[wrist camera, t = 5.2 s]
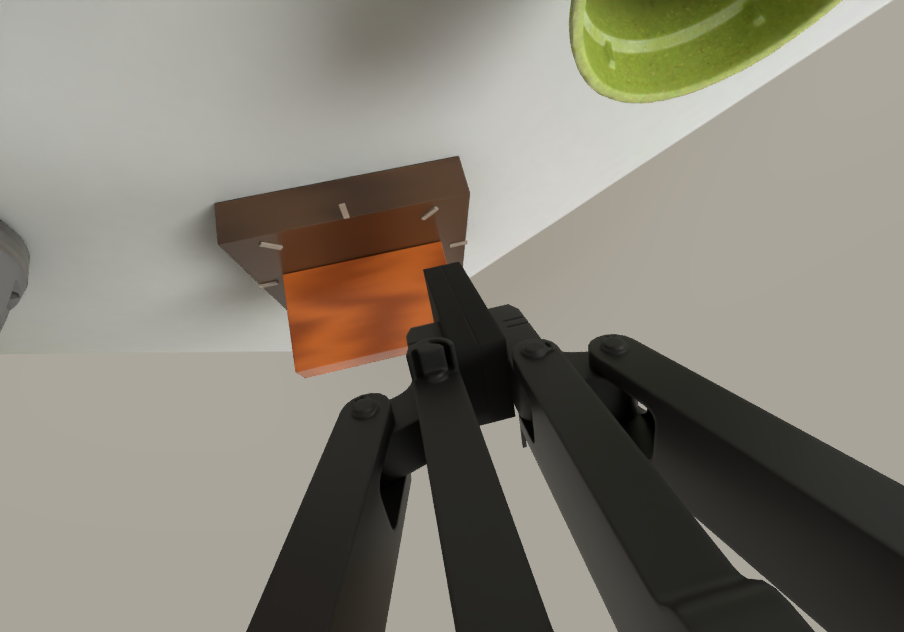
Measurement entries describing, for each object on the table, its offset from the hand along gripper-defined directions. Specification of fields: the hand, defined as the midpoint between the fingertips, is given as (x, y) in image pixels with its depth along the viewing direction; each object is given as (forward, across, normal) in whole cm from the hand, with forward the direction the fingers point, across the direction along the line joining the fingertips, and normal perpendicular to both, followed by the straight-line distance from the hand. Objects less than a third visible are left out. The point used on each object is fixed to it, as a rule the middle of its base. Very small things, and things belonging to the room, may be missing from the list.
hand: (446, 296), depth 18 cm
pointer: (+16, -4, -3) cm, 17 cm away
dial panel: (+18, -4, -1) cm, 19 cm away
